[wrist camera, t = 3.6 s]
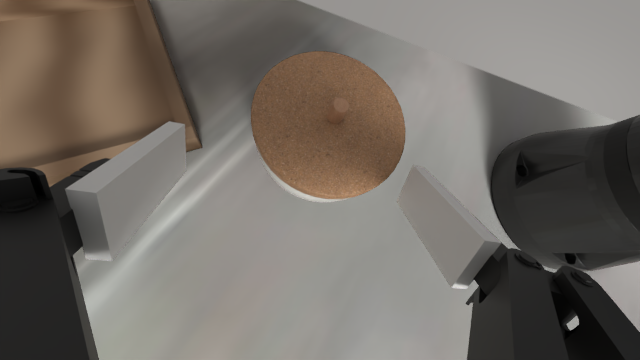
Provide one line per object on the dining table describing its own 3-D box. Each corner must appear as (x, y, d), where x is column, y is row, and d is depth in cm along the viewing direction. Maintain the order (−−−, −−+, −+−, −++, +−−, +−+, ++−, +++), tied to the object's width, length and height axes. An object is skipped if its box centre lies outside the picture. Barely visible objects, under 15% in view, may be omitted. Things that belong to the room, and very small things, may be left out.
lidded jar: (234, 185, 22) (214, 144, 13) (281, 89, 25) (292, 4, 16) (345, 229, 23) (398, 220, 14) (376, 133, 26) (435, 75, 17)
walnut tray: (149, 1, 24) (138, -22, 22) (202, 147, 22) (195, 137, 20) (-75, 26, 19) (-115, 0, 17) (-38, 216, 17) (-80, 212, 15)
